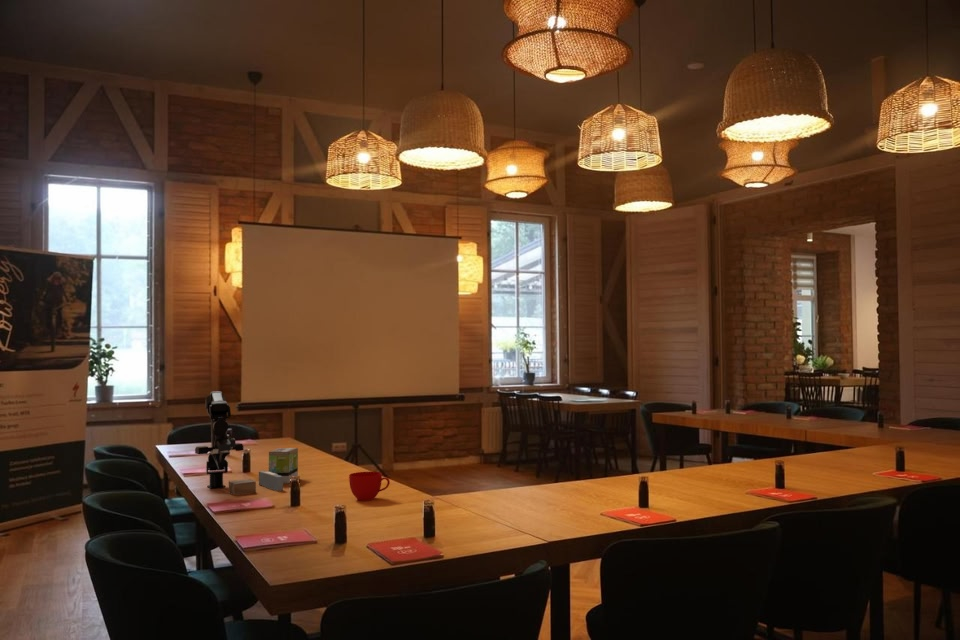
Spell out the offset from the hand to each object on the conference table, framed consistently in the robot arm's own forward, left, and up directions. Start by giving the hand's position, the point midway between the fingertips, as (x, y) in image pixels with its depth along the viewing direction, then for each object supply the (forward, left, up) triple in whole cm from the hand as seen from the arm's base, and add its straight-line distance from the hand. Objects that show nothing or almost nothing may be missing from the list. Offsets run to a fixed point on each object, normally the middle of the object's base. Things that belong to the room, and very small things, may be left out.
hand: (219, 469), depth 321 cm
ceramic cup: (+53, +42, -11) cm, 69 cm away
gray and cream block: (-3, +23, -11) cm, 26 cm away
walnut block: (0, +9, -11) cm, 15 cm away
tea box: (-16, +34, -11) cm, 40 cm away
